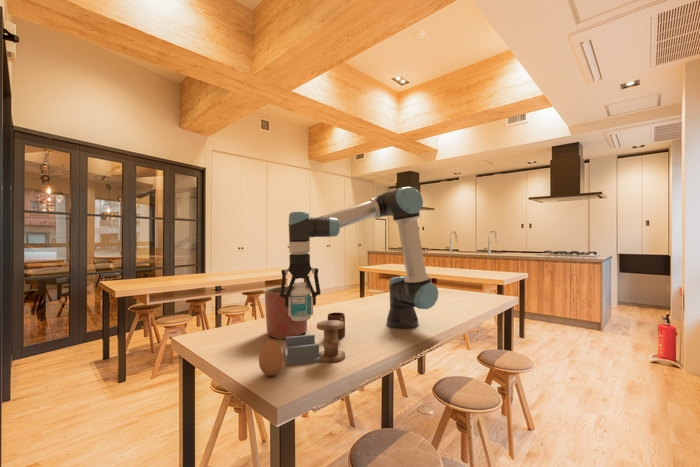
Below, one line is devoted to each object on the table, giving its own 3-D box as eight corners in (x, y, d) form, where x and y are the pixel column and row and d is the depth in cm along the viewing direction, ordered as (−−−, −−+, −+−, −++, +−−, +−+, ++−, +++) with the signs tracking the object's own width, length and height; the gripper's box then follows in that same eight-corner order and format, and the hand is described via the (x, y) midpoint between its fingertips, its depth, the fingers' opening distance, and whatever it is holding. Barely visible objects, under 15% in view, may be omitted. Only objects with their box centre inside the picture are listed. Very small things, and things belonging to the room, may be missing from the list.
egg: (282, 379, 97) (281, 344, 97) (256, 381, 97) (255, 345, 97) (285, 369, 105) (284, 336, 105) (261, 370, 104) (260, 337, 104)
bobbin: (341, 350, 120) (341, 319, 121) (348, 360, 111) (347, 326, 111) (315, 353, 118) (314, 321, 118) (319, 364, 108) (318, 329, 108)
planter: (278, 343, 131) (277, 294, 131) (258, 333, 145) (257, 289, 145) (316, 333, 143) (315, 288, 143) (294, 324, 157) (293, 284, 158)
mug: (352, 340, 132) (351, 317, 133) (334, 342, 130) (334, 319, 130) (341, 332, 144) (341, 311, 144) (325, 334, 141) (325, 313, 141)
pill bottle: (303, 315, 123) (302, 280, 123) (315, 318, 118) (314, 282, 118) (286, 319, 118) (286, 283, 118) (298, 322, 113) (297, 284, 113)
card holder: (314, 344, 128) (314, 332, 128) (321, 361, 111) (321, 347, 111) (284, 347, 125) (284, 335, 125) (286, 365, 108) (286, 351, 108)
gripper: (324, 252, 124) (326, 310, 124) (271, 253, 119) (272, 314, 119) (328, 252, 117) (329, 315, 117) (271, 254, 112) (272, 319, 112)
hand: (300, 314), depth 118 cm, fingers closed on pill bottle, 7 cm apart
